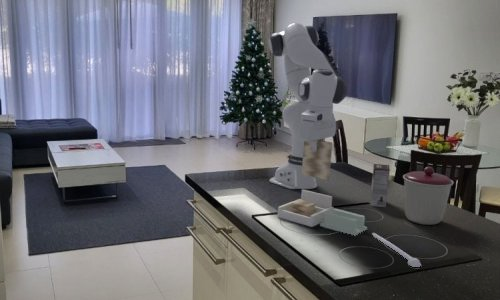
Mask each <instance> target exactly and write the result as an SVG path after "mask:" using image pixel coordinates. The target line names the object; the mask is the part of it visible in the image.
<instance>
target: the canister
mask: <svg viewBox="0 0 500 300" xmlns="http://www.w3.org/2000/svg"><path fill="white" fill-rule="evenodd" d="M402 178H403V180H404V181H403V182H404V184H403V186H404V187H403V188H404V190H403V191H404V194H403V195H404V202H403V203H404V214H405V216H406V218H407V219H408V220H409V221H410V222H412V223H416V224H419V225H426V226H427V225H429V226H431V225H432V226H433V225H437V224H439V223H441V222H442V220H443V218H444V215H445V213H446V207H447V205H448V204H447V203H448V200H449V197H450V192H451V189H452V188H451V187H452V186H453V185H454V183H455V182H454V180H452V179H450V177H449V176H446V175H444V174H441V173H436V172H435V170H434V168H433V167H431V166H426V167H425V168H424V169H423V171H422V170H420V171H419V170H418V171H410V172H407V173H405V174H403V175H402Z"/></svg>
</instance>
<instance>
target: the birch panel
mask: <svg viewBox="0 0 500 300" xmlns="http://www.w3.org/2000/svg"><path fill="white" fill-rule="evenodd" d="M317 146H318V151H312V144H311V141H310V142H307V141H304V150H303V163H302V175H307V176H311V177H315V178H316V179H320V180H325V181H328V180H330V173H331V164H332V163H331V162H332V152H333V151H332V150H333V142H332V141H331V142H330V141H326V140H325V141H321V140H318V142H317Z"/></svg>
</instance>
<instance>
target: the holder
mask: <svg viewBox="0 0 500 300" xmlns="http://www.w3.org/2000/svg"><path fill="white" fill-rule="evenodd" d="M365 220H366V215H363V214H358V213H354V212H351V211H347V210H343V209H339V208H334V209H332V213H330V212H326V213H324V222H322V223H320V224H319V226H320V227H322V228H325V229H329V230H332V231H335V232H339V231H340V233H342V232H343V234H346V233H347V235H349V234H351V235H350V236H353V235H354V237H356V235H357V236H359V235H360V234H362V233H364V232H366V231H367V230H368V226H365ZM365 230H366V231H365ZM363 231H364V232H363ZM361 232H362V233H361ZM359 233H360V234H359ZM358 234H359V235H358Z"/></svg>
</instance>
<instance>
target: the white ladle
mask: <svg viewBox="0 0 500 300" xmlns="http://www.w3.org/2000/svg"><path fill="white" fill-rule="evenodd" d="M371 235H373V236H372V237H373V238H375V239H376V238H377V239H378V241H379V240H380V241H381V242H383V243H384V244H386V245H387V246H389V247H390V248H389V247H388V248H389V249H391V248H392V249H393V250H395V251H396V252H398V253H399V254H400V255H402V256H403V257H404V259H405V258H406V259H407V260H408V261H407V260H406V259H405V260H406V261H407V264H408V266H409V265H410V266H412V267H420V266H421V267H422V264H421V261H420V259H418V258H417V257H412V256H411V255H409V254H408V253H407V252H405V251H403V250H402V249H401V248H399V247H398V246H396V245H395V244H393V243H391V242H390V241H389V240H387V239H385V238H383V237H382V236H380V235H379V234H377V233H375V232H372V233H371ZM377 239H376V240H377ZM380 241H379V242H380ZM381 242H380V243H381ZM383 243H382V244H383ZM384 244H383V245H384ZM386 245H385V246H386ZM387 246H386V247H387ZM392 249H391V250H392ZM395 251H394V252H395ZM396 252H395V253H396ZM398 253H397V254H398ZM399 254H398V255H399ZM400 255H399V256H400ZM402 256H401V257H402ZM403 257H402V258H403ZM410 266H409V267H410ZM412 267H411V268H412Z"/></svg>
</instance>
